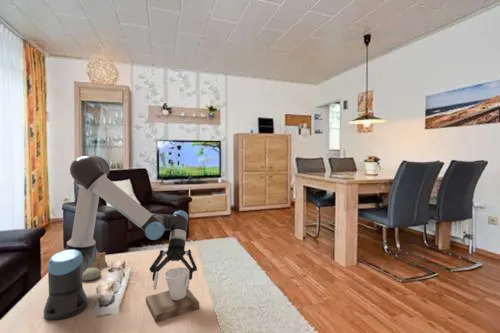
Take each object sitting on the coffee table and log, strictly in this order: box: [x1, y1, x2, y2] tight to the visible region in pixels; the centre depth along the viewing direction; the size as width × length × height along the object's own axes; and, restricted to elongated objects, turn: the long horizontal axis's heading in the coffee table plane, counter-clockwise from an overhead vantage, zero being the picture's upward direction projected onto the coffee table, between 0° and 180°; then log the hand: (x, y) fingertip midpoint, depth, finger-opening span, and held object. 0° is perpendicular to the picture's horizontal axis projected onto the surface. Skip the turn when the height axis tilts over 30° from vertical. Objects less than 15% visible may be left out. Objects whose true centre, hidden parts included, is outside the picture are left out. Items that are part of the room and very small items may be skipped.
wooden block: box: [145, 287, 200, 324], centre depth 115 cm, size 18×16×3 cm
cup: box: [164, 267, 189, 300], centre depth 116 cm, size 10×10×11 cm
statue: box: [87, 250, 108, 270], centre depth 154 cm, size 12×14×10 cm
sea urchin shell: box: [82, 268, 102, 282], centre depth 140 cm, size 9×8×8 cm
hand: (171, 287), depth 112 cm, fingers open, 13 cm apart
